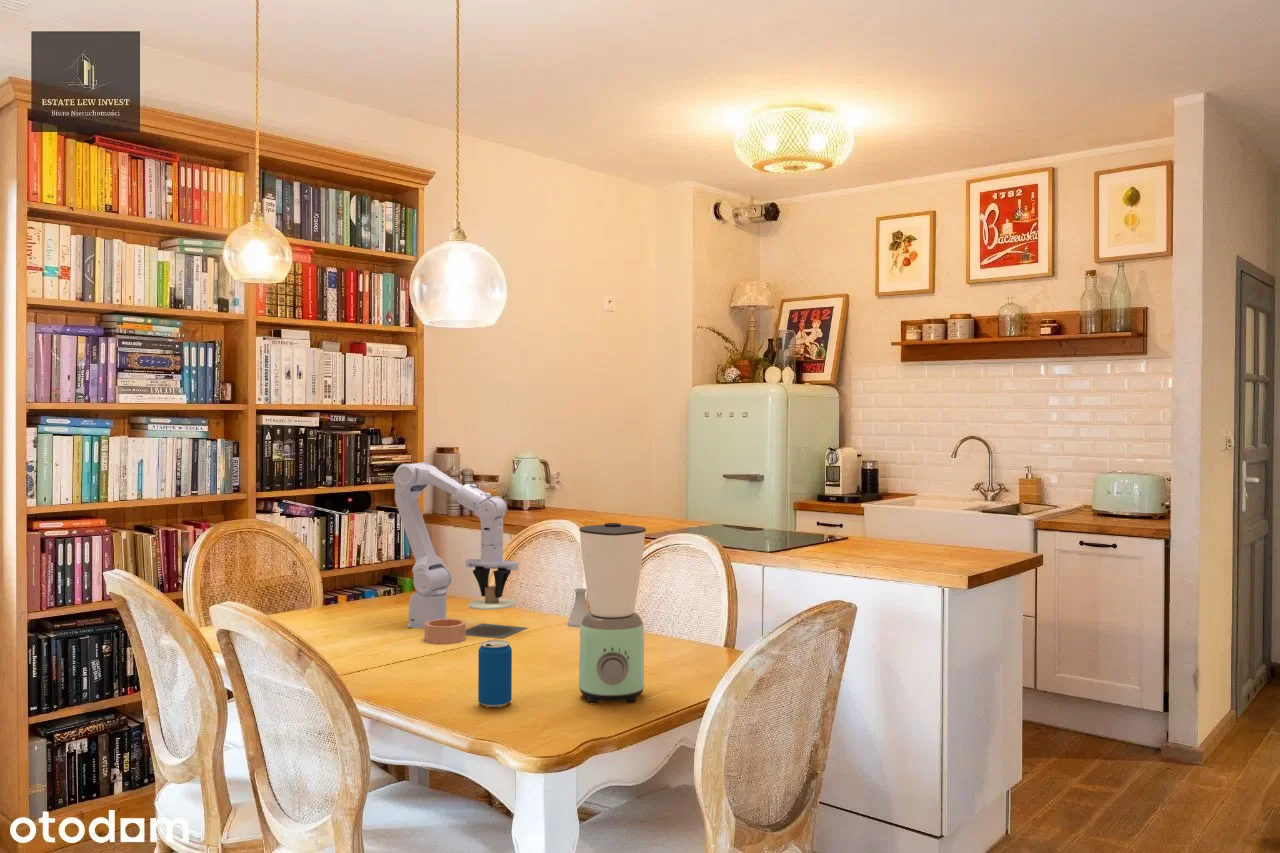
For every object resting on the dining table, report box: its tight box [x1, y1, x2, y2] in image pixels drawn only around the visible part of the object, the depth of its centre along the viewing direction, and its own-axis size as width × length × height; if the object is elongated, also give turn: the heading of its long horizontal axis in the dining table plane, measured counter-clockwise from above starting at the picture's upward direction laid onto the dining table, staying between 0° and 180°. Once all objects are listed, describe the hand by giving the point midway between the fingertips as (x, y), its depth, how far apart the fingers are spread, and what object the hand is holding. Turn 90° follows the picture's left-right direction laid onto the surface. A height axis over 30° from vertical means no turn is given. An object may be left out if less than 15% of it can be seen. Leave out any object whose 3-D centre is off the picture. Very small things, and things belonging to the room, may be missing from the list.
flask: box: [567, 587, 590, 628], centre depth 268 cm, size 7×7×10 cm
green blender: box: [578, 522, 647, 704], centre depth 202 cm, size 19×13×35 cm
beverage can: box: [477, 639, 513, 708], centre depth 195 cm, size 6×6×12 cm
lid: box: [468, 585, 516, 611], centre depth 259 cm, size 12×12×5 cm
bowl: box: [424, 618, 467, 645], centre depth 249 cm, size 10×10×4 cm
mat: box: [466, 623, 528, 640], centre depth 259 cm, size 14×14×1 cm
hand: (491, 596), depth 259 cm, fingers closed on lid, 4 cm apart
